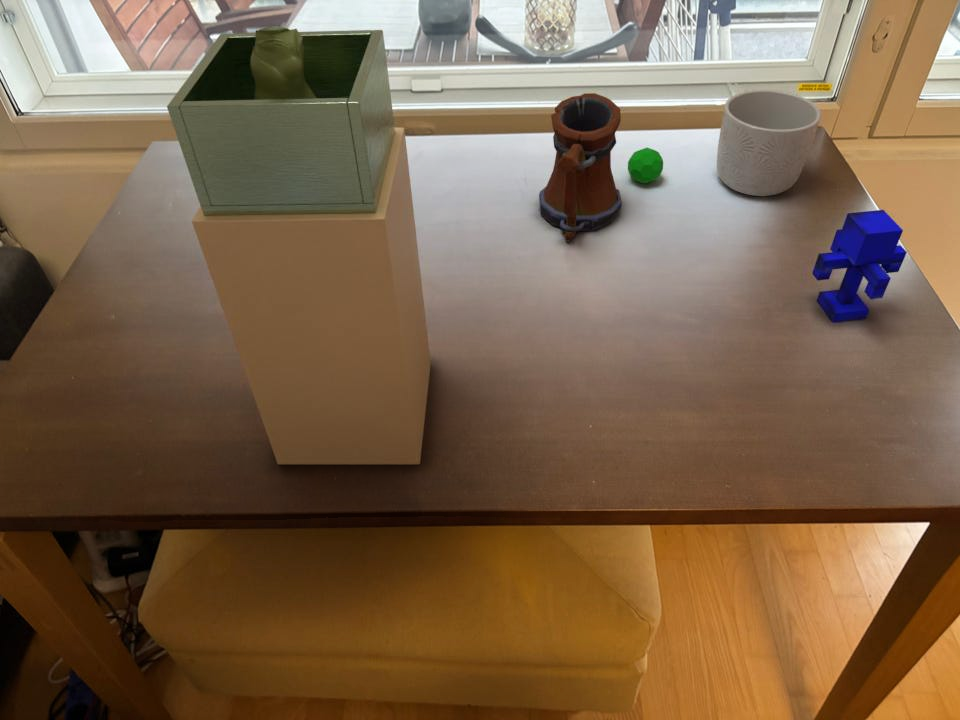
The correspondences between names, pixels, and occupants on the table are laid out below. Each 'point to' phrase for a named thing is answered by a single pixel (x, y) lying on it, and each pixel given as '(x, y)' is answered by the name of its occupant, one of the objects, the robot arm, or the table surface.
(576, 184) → the mug
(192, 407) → the table surface
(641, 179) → the polyhedron
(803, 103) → the planter
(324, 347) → the bin
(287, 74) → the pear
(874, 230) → the figurine
